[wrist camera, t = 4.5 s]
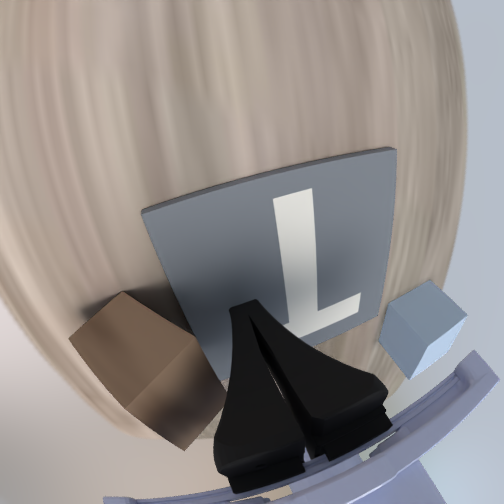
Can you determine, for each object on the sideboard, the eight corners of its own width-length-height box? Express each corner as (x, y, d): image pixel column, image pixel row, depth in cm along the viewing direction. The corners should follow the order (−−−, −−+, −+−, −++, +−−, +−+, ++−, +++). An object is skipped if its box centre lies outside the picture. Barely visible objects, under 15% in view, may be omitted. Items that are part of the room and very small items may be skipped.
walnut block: (230, 398, 12) (184, 451, 10) (163, 354, 14) (122, 394, 12) (195, 336, 9) (124, 408, 7) (122, 291, 12) (68, 338, 9)
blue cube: (416, 317, 23) (447, 351, 19) (377, 340, 22) (409, 380, 18) (429, 279, 20) (467, 314, 16) (387, 302, 19) (427, 346, 15)
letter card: (373, 311, 19) (377, 315, 18) (217, 375, 17) (219, 381, 16) (390, 146, 12) (396, 149, 12) (142, 209, 10) (141, 214, 10)
